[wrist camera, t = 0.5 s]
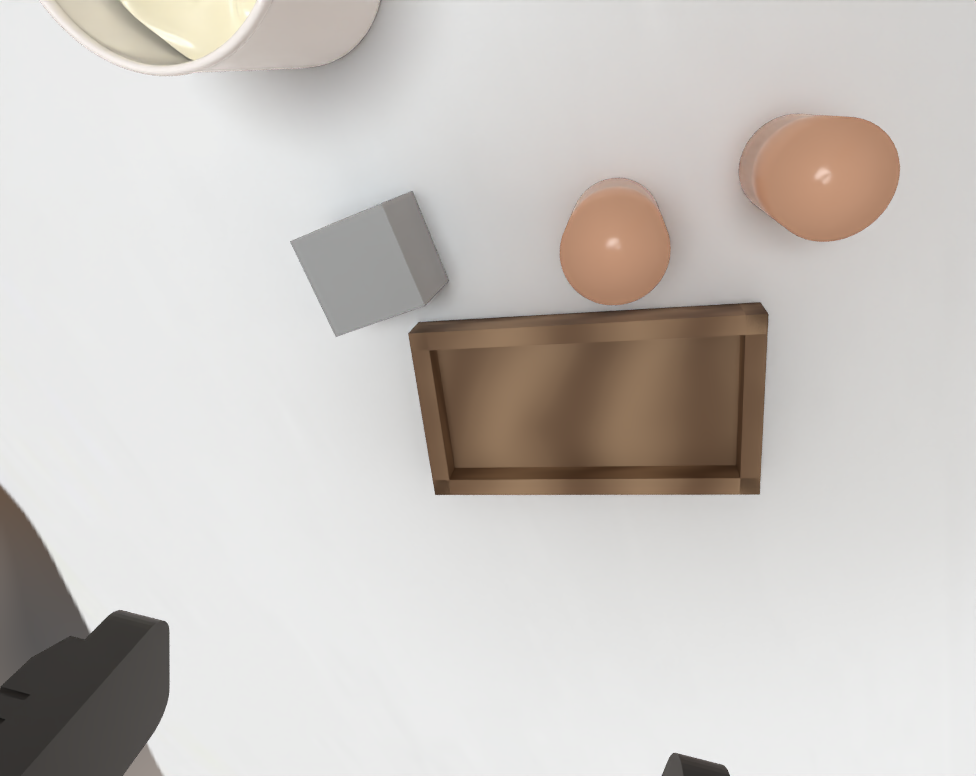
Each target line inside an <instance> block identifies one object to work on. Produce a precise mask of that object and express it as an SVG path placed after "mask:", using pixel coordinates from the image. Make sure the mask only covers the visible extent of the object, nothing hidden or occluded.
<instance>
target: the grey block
mask: <svg viewBox="0 0 976 776" xmlns="http://www.w3.org/2000/svg"><path fill="white" fill-rule="evenodd" d="M290 242H291V244H292V247H293V249H294V251H295V253H296V255H297V257H298V259H299V261H300V263H301V265H302V267H303V269H304V272H305V274H306V276H307V278H308V280H309V282H310V284H311V286H312V288H313V290H314V292H315V294H316V297H317V299H318V301H319V303H320V305H321V307H322V309H323V311H324V313H325V315H326V317H327V319H328V322H329V324H330V326H331V328H332V330H333V332H334V334H335V336H336V337H337V336H340V335H343V334H345V333H348V332H351V331H354V330H357V329H360V328H363V327H366V326H368V325H371V324H374V323H377V322H380V321H383V320H386V319H389V318H391V317H394V316H397V315H400V314H403V313H406V312H409V311H411V310H414V309H417V308H420V307H423V306H425V305H426V304H427V303H428V302H429V301H430V300H431V299H432V298H433V297H434V296H435V295H436V294H437V293H438V292H439V290H440V289H441V288H442V287H443V286H444V285H445V284H446V283H447V282H448V281H449V279H448V277H447V274H446V272H445V270H444V267H443V265H442V262H441V260H440V257H439V255H438V252H437V250H436V248H435V245H434V243H433V240H432V238H431V235H430V233H429V230H428V228H427V226H426V223H425V221H424V218H423V216H422V213H421V211H420V208H419V206H418V204H417V201H416V199H415V196H414V194H413V191H411V192H408V193H406V194H403V195H401V196H398V197H396V198H394V199H391V200H389V201H386V202H384V203H381V204H379V205H377V206H374V207H372V208H369V209H367V210H364V211H362V212H359V213H357V214H355V215H352V216H350V217H347V218H345V219H342V220H340V221H337V222H335V223H333V224H330V225H328V226H325V227H323V228H321V229H318V230H316V231H314V232H311V233H309V234H307V235H304V236H302V237H300V238H297V239H295V240H293V241H290Z"/></svg>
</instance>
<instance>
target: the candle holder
mask: <svg viewBox="0 0 976 776" xmlns="http://www.w3.org/2000/svg"><path fill="white" fill-rule="evenodd" d="M39 1H40V3H41V4H42V5H43V7H44V8H45V9H46V10H47V12H48V13H49V14H50V15H51V16H52V17H53V19H54V20H55V21H56V22H57V23H58V24H59V25H60V26H61V27H62V28H63V29H64V30H65V31H66V32H67V33H68V34H69V35H70V36H72V37H73V38H74V39H75V40H76V41H78V42H79V43H80V44H81V45H83V46H84V47H85V48H87V49H88V50H90V51H91V52H93V53H94V54H96V55H97V56H99V57H101V58H103V59H104V60H106V61H108V62H110V63H112V64H115V65H117V66H119V67H122V68H125V69H127V70H131V71H134V72H138V73H142V74H147V75H155V76H179V75H186V74H191V73H200V72H226V71H253V70H279V69H299V68H310V67H317V66H322V65H325V64H329V63H331V62H334V61H336V60H338V59H340V58H341V57H343V56H345V55H346V54H348V53H349V52H350V51H351V50H352V49H354V48H355V47H356V46H357V45H358V44H359V42H360V41H361V40H362V39H363V38H364V36H365V35H366V33H367V32H368V30H369V29H370V27H371V25H372V23H373V21H374V19H375V16H376V14H377V11H378V8H379V4H380V0H39Z"/></svg>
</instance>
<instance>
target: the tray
mask: <svg viewBox="0 0 976 776" xmlns="http://www.w3.org/2000/svg"><path fill="white" fill-rule="evenodd" d="M767 332H768V313H767V311H766V310H765V308H764V307H763V306H762V304H761V303H760V302H759V303H742V304H725V305H708V306H691V307H673V308H656V309H639V310H622V311H605V312H587V313H570V314H553V315H536V316H519V317H502V318H484V319H467V320H450V321H433V322H418V324H417V325H416V326H415V327H414V328H413V329H412V330H411V331H410V332H409V333H408V334H409V340H410V346H411V352H412V358H413V364H414V370H415V376H416V382H417V388H418V394H419V400H420V406H421V412H422V418H423V424H424V430H425V436H426V442H427V448H428V454H429V460H430V466H431V472H432V478H433V484H434V490H435V495H701V494H760V477H761V456H762V435H763V415H764V394H765V373H766V353H767Z"/></svg>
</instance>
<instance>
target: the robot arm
mask: <svg viewBox="0 0 976 776" xmlns="http://www.w3.org/2000/svg"><path fill="white" fill-rule="evenodd" d="M168 697H169V626H168V624H167V622H165V621H162V620H158V619H154V618H150V617H146V616H142V615H138V614H135V613H131V612H127V611H123V610H118V611H115V612H113V613H112V614H110V615H109V616H108V617H107V618H106V619H105V620H104V621H103V622H102V623H101V624H100V625H99V626H98V627H97V628H96V629H95V630H94V631H93V632H92V633H91V634H90V635H89V636H88V637H87V638H86V639H85V640H84V639H80V638H76V637H72V636H69V637H68V638H66V639H64V640H62V641H60V642H59V643H57V644H55V645H53V646H51V647H50V648H48V649H46V650H44V651H42V652H41V653H39V654H37V655H35V656H34V657H32V658H30V659H29V660H28V661H27V662H26V663H25V664H24V665H23V666H22V667H21V668H20V669H19V670H18V671H17V672H16V673H15V674H14V675H13V676H11V677H10V678H9V679H8V680H7V681H6V682H5V683H4V684H3V685H2V686H1V688H0V776H123V775H124V773H125V772H126V770H127V769H128V768H129V766H130V765H131V764H132V762H133V761H134V759H135V758H136V757H137V755H138V754H139V752H140V751H141V750H142V748H143V747H144V746H145V744H146V743H147V741H148V740H149V739H150V737H151V736H152V734H153V733H154V731H155V730H156V728H157V726H158V724H159V722H160V720H161V718H162V716H163V713H164V711H165V708H166V705H167V701H168ZM662 776H730V775H729V772H728V770H727V768H726V767H725V766H724V765H721V764H717V763H713V762H709V761H705V760H701V759H697V758H694V757H690V756H686V755H682V754H678V753H673V754H672V755H671V756H670V757H669V760H668V762H667V764H666V767H665V769H664V772H663V774H662Z"/></svg>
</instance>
